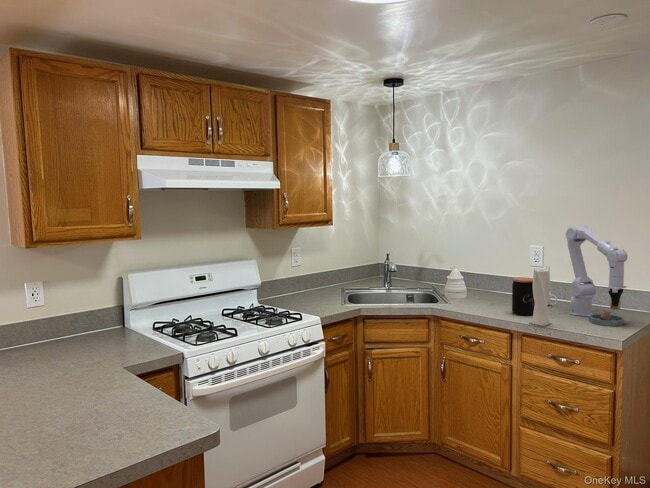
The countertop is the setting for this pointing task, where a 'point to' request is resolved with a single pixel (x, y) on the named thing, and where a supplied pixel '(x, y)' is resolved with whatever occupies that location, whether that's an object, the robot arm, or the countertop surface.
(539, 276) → the skyscraper
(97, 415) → the countertop surface
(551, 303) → the mug
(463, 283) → the honey pot
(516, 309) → the coffee jar
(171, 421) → the countertop surface
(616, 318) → the ring dish
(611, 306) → the oak bead
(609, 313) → the walnut bead
